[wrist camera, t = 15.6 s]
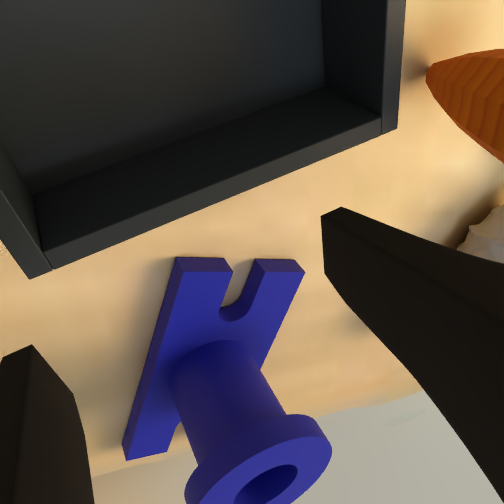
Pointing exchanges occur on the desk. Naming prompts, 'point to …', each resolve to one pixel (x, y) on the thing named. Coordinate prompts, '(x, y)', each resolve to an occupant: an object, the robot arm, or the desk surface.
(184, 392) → the mount
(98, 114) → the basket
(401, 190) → the desk surface
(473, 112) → the carrot
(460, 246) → the seahorse
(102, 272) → the desk surface
